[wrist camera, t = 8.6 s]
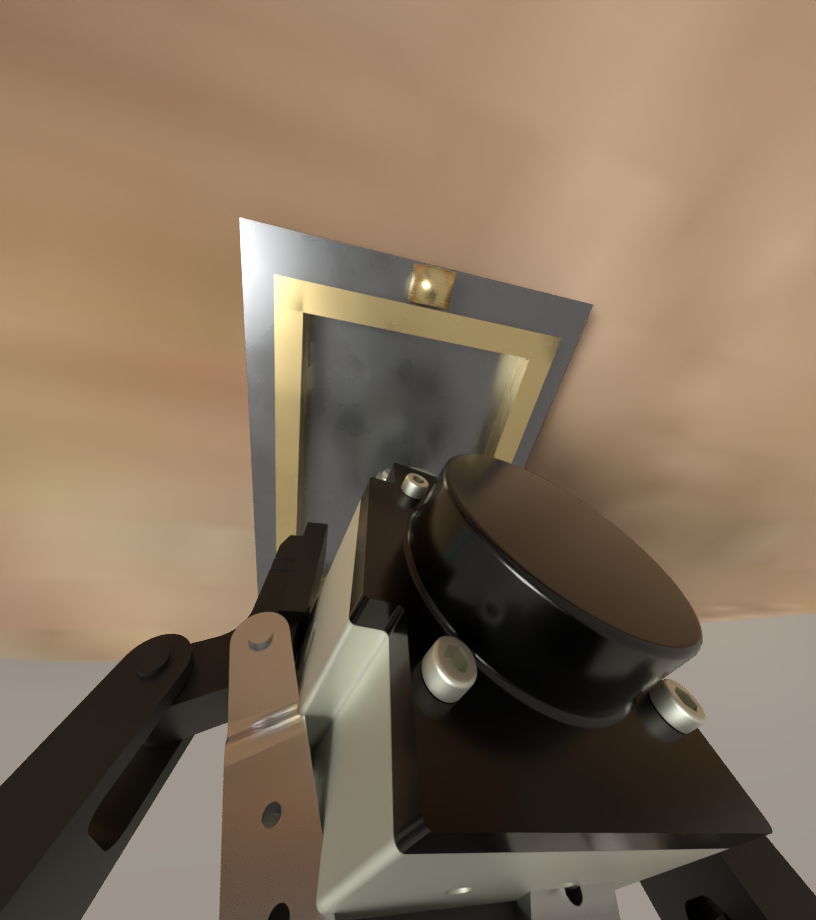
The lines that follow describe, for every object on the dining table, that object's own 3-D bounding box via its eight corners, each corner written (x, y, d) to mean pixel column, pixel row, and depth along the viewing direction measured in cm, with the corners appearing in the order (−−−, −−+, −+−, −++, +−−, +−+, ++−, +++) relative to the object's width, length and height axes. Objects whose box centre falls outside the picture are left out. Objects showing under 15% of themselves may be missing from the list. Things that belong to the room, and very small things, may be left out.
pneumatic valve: (504, 417, 13) (1172, 1029, 2) (396, 594, 17) (422, 1059, 7) (382, 364, 11) (418, 1525, 1) (301, 573, 16) (140, 1120, 5)
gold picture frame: (255, 227, 12) (218, 204, 9) (572, 304, 14) (618, 305, 11) (266, 580, 21) (249, 621, 18) (458, 593, 23) (468, 631, 20)
